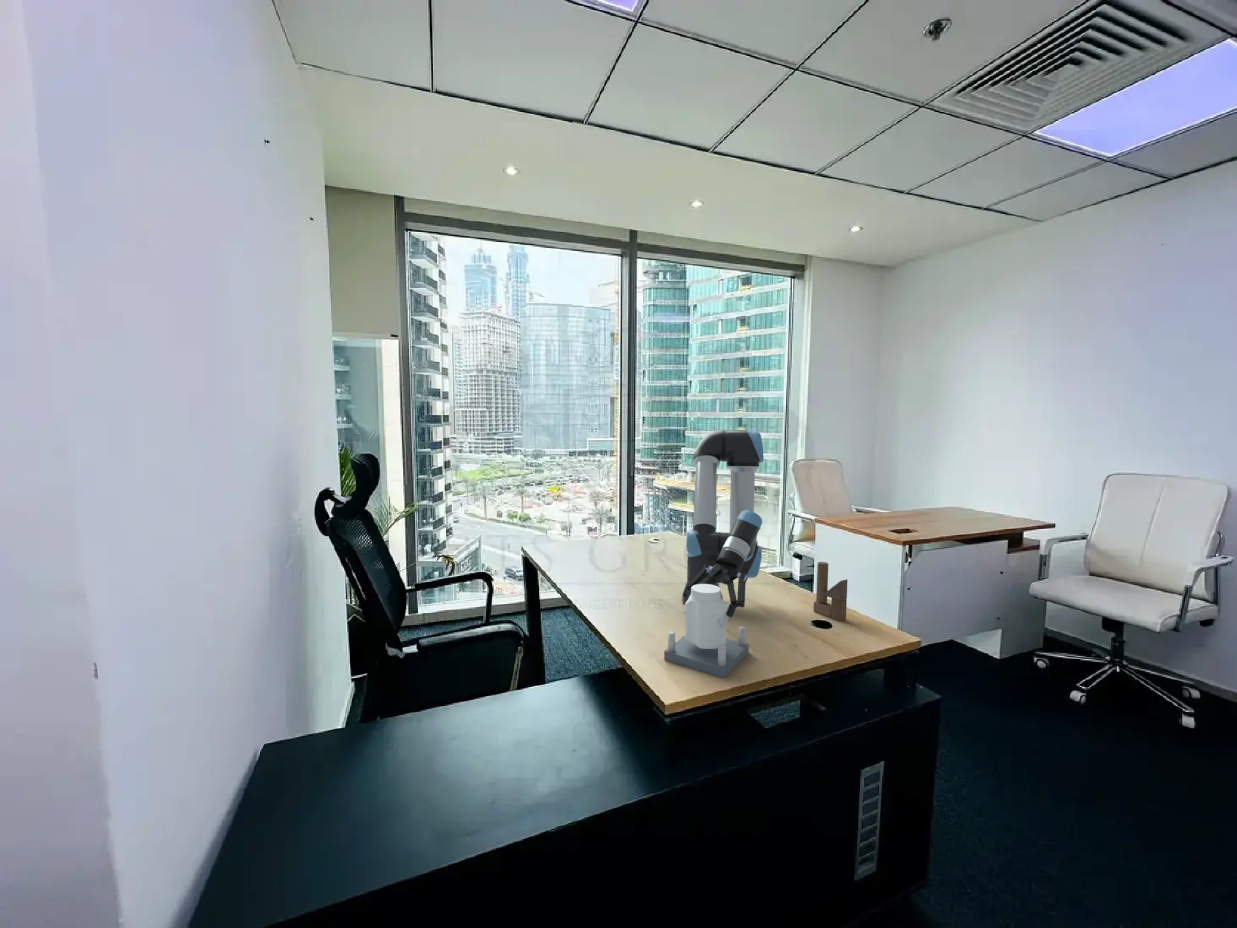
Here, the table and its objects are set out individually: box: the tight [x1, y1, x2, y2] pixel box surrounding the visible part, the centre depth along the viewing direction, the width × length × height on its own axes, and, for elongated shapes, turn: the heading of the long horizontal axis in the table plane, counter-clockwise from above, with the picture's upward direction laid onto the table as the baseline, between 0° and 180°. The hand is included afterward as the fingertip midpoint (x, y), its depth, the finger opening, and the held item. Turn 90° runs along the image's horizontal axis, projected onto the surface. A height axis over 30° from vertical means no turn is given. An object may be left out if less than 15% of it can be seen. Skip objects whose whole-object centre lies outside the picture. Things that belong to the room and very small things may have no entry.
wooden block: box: [813, 561, 848, 622], centre depth 171 cm, size 4×11×18 cm, turn 29°
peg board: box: [663, 626, 750, 679], centre depth 140 cm, size 18×18×8 cm
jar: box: [684, 584, 727, 649], centre depth 138 cm, size 12×10×15 cm
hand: (702, 619), depth 137 cm, fingers closed on jar, 11 cm apart
